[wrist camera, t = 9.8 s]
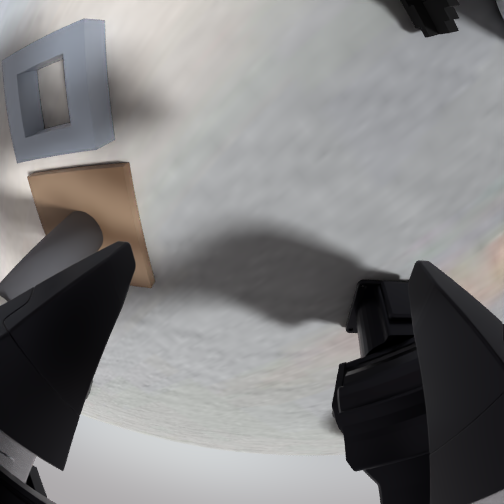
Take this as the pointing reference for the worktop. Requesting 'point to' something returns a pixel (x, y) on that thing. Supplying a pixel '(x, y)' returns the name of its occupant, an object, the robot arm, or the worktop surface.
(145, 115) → the worktop surface
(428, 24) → the security camera
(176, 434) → the worktop surface
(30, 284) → the plug
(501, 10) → the mug
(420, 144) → the worktop surface
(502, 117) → the worktop surface
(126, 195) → the pad
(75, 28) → the blue-grey square ring
